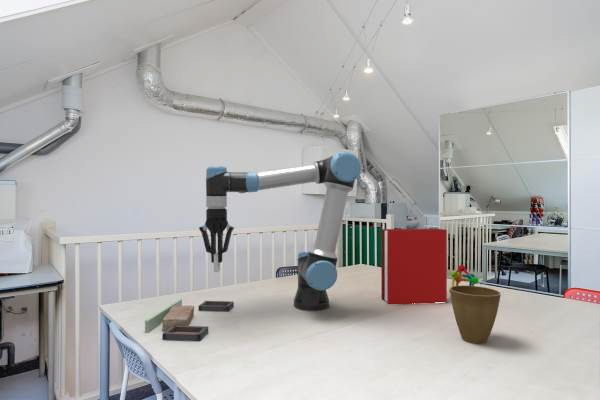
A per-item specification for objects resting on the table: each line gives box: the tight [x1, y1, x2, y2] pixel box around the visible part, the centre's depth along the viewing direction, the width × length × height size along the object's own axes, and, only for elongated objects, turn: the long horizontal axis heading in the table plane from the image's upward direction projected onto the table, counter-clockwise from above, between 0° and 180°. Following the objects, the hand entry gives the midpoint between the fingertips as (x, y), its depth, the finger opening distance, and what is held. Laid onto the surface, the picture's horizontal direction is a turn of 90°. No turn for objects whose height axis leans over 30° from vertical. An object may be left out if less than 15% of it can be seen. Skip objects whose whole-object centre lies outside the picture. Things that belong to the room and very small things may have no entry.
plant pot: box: [449, 285, 502, 344], centre depth 122 cm, size 15×15×16 cm
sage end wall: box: [144, 298, 183, 333], centre depth 142 cm, size 1×28×4 cm, turn 175°
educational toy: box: [448, 264, 479, 293], centre depth 178 cm, size 16×13×15 cm
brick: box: [162, 304, 195, 332], centre depth 138 cm, size 17×8×5 cm, turn 6°
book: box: [381, 228, 448, 305], centre depth 168 cm, size 27×8×32 cm, turn 96°
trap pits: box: [161, 300, 235, 342], centre depth 141 cm, size 12×40×2 cm, turn 175°
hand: (216, 271), depth 141 cm, fingers closed
